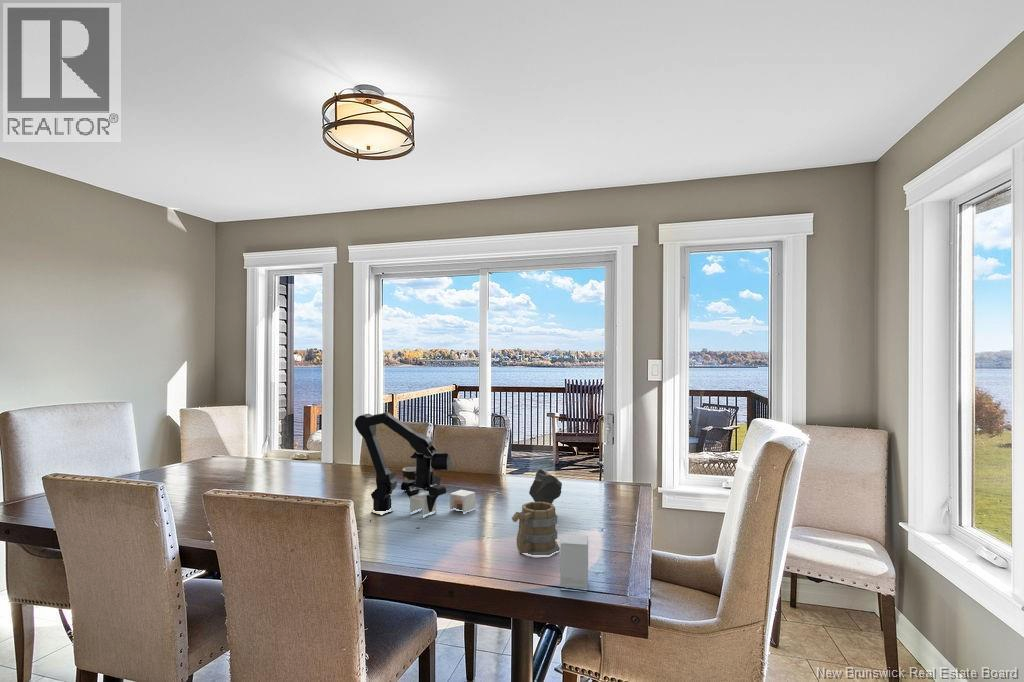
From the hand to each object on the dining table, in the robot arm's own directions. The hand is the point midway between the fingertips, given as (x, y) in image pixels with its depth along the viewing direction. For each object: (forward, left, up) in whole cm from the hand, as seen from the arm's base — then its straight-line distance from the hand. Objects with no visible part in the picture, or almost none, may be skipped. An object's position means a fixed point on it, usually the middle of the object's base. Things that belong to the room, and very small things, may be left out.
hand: (423, 510), depth 202 cm
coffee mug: (+21, +25, -2) cm, 33 cm away
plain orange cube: (+12, -10, -2) cm, 16 cm away
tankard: (-11, -55, -2) cm, 56 cm away
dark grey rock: (+24, -41, -2) cm, 47 cm away
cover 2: (+12, -10, -2) cm, 16 cm away
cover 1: (0, 0, -2) cm, 2 cm away
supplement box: (-24, -76, -2) cm, 80 cm away
